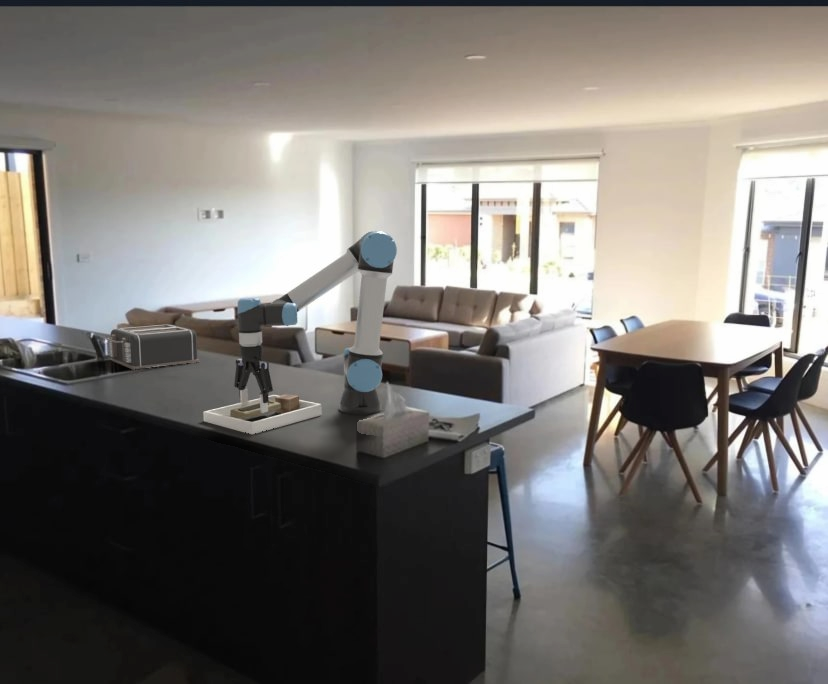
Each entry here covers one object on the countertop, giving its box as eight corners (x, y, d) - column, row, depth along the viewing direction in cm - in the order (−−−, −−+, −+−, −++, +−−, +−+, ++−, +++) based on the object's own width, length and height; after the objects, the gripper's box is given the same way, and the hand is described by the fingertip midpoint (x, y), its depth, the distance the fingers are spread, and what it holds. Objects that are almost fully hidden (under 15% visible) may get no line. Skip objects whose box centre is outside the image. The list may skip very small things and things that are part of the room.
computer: (246, 419, 240) (244, 409, 239) (230, 418, 245) (229, 408, 244) (282, 409, 252) (280, 400, 252) (266, 408, 257) (265, 399, 257)
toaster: (100, 365, 349) (98, 329, 346) (173, 357, 372) (171, 323, 369) (124, 374, 326) (122, 336, 324) (199, 365, 350) (198, 329, 347)
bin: (321, 415, 258) (321, 404, 257) (252, 435, 232) (251, 423, 232) (274, 405, 272) (274, 394, 271) (203, 423, 246) (203, 411, 245)
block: (299, 412, 262) (299, 396, 261) (289, 416, 257) (289, 399, 256) (285, 410, 265) (285, 394, 264) (275, 414, 259) (275, 397, 258)
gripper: (282, 345, 240) (285, 412, 244) (238, 340, 253) (241, 403, 257) (265, 348, 234) (268, 417, 238) (220, 343, 247) (224, 408, 251)
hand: (254, 410), depth 247 cm, fingers closed on computer, 9 cm apart
